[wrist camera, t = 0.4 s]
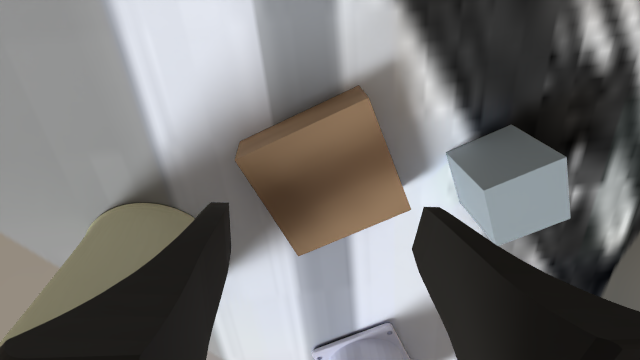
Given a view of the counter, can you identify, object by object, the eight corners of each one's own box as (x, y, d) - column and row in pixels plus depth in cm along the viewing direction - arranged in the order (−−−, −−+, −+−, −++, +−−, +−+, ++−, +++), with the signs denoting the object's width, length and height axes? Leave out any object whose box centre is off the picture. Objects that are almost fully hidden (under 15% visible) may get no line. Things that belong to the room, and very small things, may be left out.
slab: (397, 186, 24) (411, 209, 21) (296, 228, 25) (298, 256, 22) (357, 83, 20) (368, 97, 18) (240, 139, 21) (234, 159, 19)
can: (59, 216, 22) (-139, 415, 12) (196, 190, 22) (118, 367, 12) (122, 307, 27) (20, 509, 16) (235, 286, 27) (204, 474, 16)
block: (519, 177, 24) (570, 218, 20) (459, 201, 25) (496, 246, 20) (510, 124, 22) (566, 157, 18) (445, 152, 23) (483, 190, 18)
